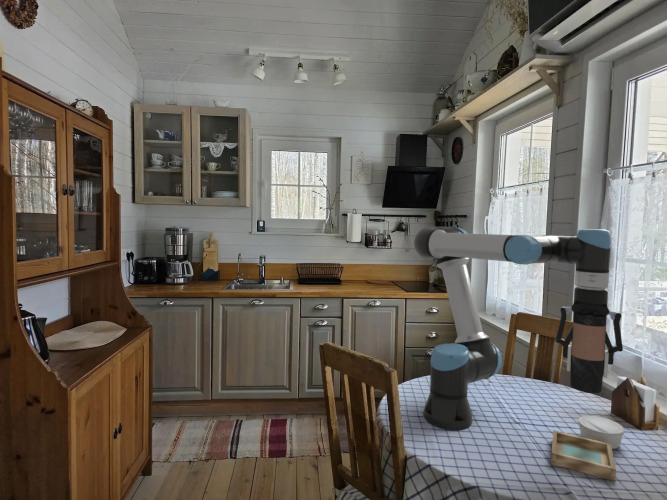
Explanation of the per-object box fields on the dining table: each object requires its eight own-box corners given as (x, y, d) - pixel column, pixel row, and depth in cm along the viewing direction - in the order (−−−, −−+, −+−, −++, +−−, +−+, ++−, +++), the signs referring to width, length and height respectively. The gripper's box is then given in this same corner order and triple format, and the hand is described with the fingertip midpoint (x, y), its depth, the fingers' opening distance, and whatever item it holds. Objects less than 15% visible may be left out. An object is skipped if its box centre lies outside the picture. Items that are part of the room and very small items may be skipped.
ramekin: (572, 440, 119) (573, 423, 119) (583, 428, 127) (584, 411, 127) (618, 456, 111) (619, 438, 111) (626, 442, 119) (627, 424, 119)
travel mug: (608, 395, 104) (612, 318, 103) (575, 392, 105) (579, 316, 104) (595, 384, 111) (599, 312, 110) (564, 381, 113) (568, 310, 112)
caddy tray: (551, 463, 107) (551, 452, 107) (552, 440, 119) (553, 430, 119) (615, 481, 100) (616, 469, 100) (610, 454, 112) (610, 443, 112)
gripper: (546, 286, 109) (542, 369, 110) (641, 293, 99) (635, 385, 100) (547, 282, 115) (543, 361, 117) (637, 289, 105) (631, 376, 106)
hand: (586, 372), depth 108 cm, fingers closed on travel mug, 8 cm apart
